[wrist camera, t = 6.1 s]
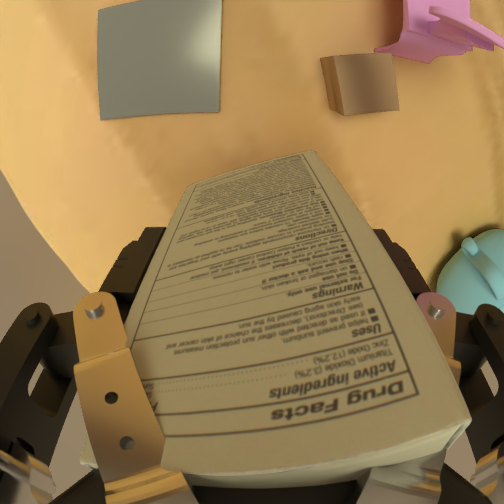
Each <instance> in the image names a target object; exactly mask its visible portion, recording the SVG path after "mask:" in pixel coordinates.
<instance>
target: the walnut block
mask: <svg viewBox="0 0 504 504" xmlns="http://www.w3.org/2000/svg"><path fill="white" fill-rule="evenodd" d="M320 60H321V65H322V69H323V74H324V79H325V84H326V89H327V95H328V100H329V106H330V108H331V109H333V110H335V111H336V112H338V113H340V114H342V115H344V116H347V115H355V114H364V113H374V112H386V111H399V100H398V92H397V85H396V78H395V71H394V65H393V59H392V53H375V54H354V55H340V56H331V57H325V58H320Z"/></svg>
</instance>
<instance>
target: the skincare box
mask: <svg viewBox="0 0 504 504" xmlns="http://www.w3.org/2000/svg"><path fill="white" fill-rule="evenodd" d="M124 328H125V332H126V335H127V338H128V339H127V341H126V344H125V347H127V346H129V347H130V348H131V351H132V354H133V357H134V360H135V363H136V366H137V369H138V372H139V374H140V377H141V380H142V383H143V385H144V388H145V391H146V393H147V396H148V398H149V401H150V403H151V406H152V408H153V411H154V413H155V416H156V418H157V420H158V423H159V425H160V427H161V430H162V432H163V434H164V436H165V439H166V441H165V446H164V450H163V455H162V460H161V468H162V469H163V470H166V471H180V470H181V472H182V473H183V474H184V475H185V476H186V478H187V479H188V480H189V481H190V483H191V484H192V485H196V486H208V487H222V488H290V487H305V486H316V485H325V484H332V483H339V482H345V481H351V480H357V479H358V478H359V477H360V476H362V475H363V474H364V473H365V472H367V471H368V470H369V469H370V468H372V467H378V466H387V465H393V464H397V463H402V462H405V461H409V460H413V459H416V458H420V457H423V456H426V455H429V454H432V453H436V452H438V451H440V450H442V449H443V447H444V446H445V445H446V443H447V442H449V443H448V447H447V450H448V449H449V448H450V447H451V445H452V444H453V443H454V442H455V441H456V439H457V438H458V437H459V436H460V435H461V434H462V433H463V431H464V430H465V429H466V428H467V427H468V426H469V425H470V423H471V421H472V418H471V415H470V413H469V410H468V407H467V405H466V403H465V400H464V398H463V396H462V393H461V391H460V389H459V387H458V384H457V382H456V380H455V378H454V376H453V373H452V371H451V369H450V367H449V365H448V363H447V361H446V358H445V356H444V354H443V352H442V350H441V348H440V346H439V344H438V342H437V340H436V338H435V336H434V334H433V332H432V330H431V328H430V326H429V324H428V322H427V321H426V319H425V317H424V315H423V313H422V311H421V310H420V308H419V306H418V304H417V302H416V301H415V299H414V297H413V295H412V294H411V292H410V290H409V288H408V287H407V285H406V283H405V281H404V280H403V278H402V276H401V274H400V273H399V271H398V269H397V268H396V266H395V265H394V263H393V261H392V260H391V258H390V256H389V255H388V253H387V252H386V250H385V248H384V247H383V245H382V244H381V242H380V241H379V239H378V237H377V236H376V234H375V233H374V231H373V230H372V228H371V227H370V225H369V224H368V222H367V221H366V220H365V218H364V217H363V215H362V214H361V212H360V211H359V209H358V208H357V206H356V205H355V204H354V202H353V201H352V199H351V198H350V197H349V195H348V194H347V192H346V191H345V190H344V188H343V187H342V186H341V184H340V183H339V181H338V180H337V179H336V177H335V176H334V175H333V173H332V172H331V171H330V169H329V168H328V167H327V166H326V164H325V163H324V162H323V160H322V159H321V158H320V157H319V155H318V154H317V153H316V152H315V151H313V150H309V151H304V152H300V153H295V154H291V155H287V156H283V157H279V158H275V159H271V160H267V161H264V162H261V163H257V164H253V165H250V166H246V167H243V168H240V169H236V170H233V171H230V172H226V173H223V174H220V175H217V176H214V177H211V178H208V179H206V180H203V181H200V182H197V183H194V184H192V185H190V186H188V187H187V189H186V191H185V192H184V194H183V196H182V198H181V200H180V202H179V204H178V206H177V208H176V210H175V212H174V214H173V216H172V218H171V220H170V222H169V224H168V227H167V228H166V230H165V232H164V235H163V237H162V239H161V241H160V243H159V245H158V247H157V249H156V251H155V254H154V256H153V258H152V260H151V262H150V265H149V267H148V269H147V272H146V274H145V276H144V278H143V281H142V283H141V285H140V287H139V290H138V292H137V295H136V297H135V299H134V301H133V304H132V306H131V309H130V311H129V314H128V316H127V319H126V321H125V323H124ZM134 445H135V442H134V441H129V442H128V443H127V444H126V445H125V450H131V449H132V448H133V447H134ZM80 463H81V464H82V465H85V466H87V467H89V468H92V469H94V468H95V469H99V468H98V466H97V463H96V459H95V456H94V453H93V450H92V447H91V443H90V440H89V436H88V433H87V434H86V438H85V442H84V446H83V449H82V453H81V457H80Z"/></svg>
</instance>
